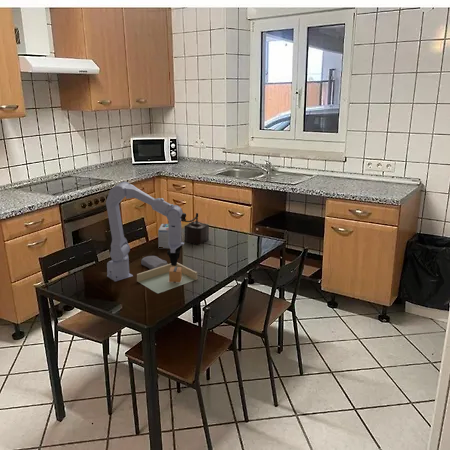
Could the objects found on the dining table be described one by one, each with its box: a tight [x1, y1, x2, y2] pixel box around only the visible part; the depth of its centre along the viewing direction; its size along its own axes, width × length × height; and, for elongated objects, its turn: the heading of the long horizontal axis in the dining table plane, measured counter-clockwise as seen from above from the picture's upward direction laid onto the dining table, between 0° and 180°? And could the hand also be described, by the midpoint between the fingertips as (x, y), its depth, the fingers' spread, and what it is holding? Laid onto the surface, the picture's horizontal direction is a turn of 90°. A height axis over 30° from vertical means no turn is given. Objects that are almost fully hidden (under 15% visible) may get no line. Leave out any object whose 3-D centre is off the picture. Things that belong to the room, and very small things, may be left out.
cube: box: [169, 267, 182, 282], centre depth 201 cm, size 5×5×5 cm
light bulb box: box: [157, 223, 170, 249], centre depth 243 cm, size 11×7×11 cm, turn 178°
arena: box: [136, 261, 198, 294], centre depth 201 cm, size 22×16×4 cm
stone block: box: [140, 255, 168, 270], centre depth 217 cm, size 12×5×10 cm
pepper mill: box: [180, 212, 210, 246], centre depth 248 cm, size 16×11×18 cm
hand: (175, 262), depth 199 cm, fingers open, 7 cm apart
